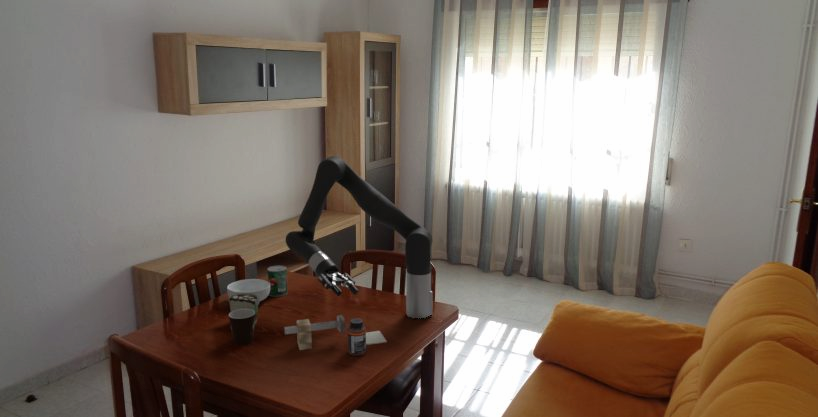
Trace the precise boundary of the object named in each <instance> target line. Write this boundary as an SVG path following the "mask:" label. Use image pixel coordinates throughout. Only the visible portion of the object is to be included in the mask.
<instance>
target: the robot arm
mask: <svg viewBox="0 0 818 417" xmlns="http://www.w3.org/2000/svg"><path fill="white" fill-rule="evenodd" d="M335 183H337V184H339V185H340V186H341V187H343V188H344V189H345V190H346V191H347V192H348V193H349V194H350V195H351V197H352V198H353V199H354V201H355V202H356V204H357V205H358V207H359V208H360V209H361V210H362V211H363V212H364V213H366V214H367V215H368V216H369V217H370V218H371V219H373V220H374V221H376V222H377V223H379V224H381V225H383V226H386V227H388V228H390V229H392V230H393V231H395V233H396V232H397V233H398V234H399V235H400V236H401V237H402V238H403V239H404V240H405V243H404V244H405V247H404V248H405V251H404V253H405V256H404V257H405V267H406V294H405V295H406V306H405V307H406V308H405V310H406V316H407V317H408V318H410V317H411V318H410V319H414V318H418V319H417V320H422V319H421V318H424V319H427V318H429V317H431V316H430V315H432V316H433V310H434V309H433V308H434V307H433V302H434V298H433V296H434V294H433V293H434V292H433V291H432V264H431V247H432V246H433V236H432V234H431V232H430V231H429V230H428V229H426V228H425V227H424V226H422V225H421V224H419V223H417V222H416V221H414V220H413V218H410V217H409V216H408V215H407V214H405V213H404V212H403V211H402V210H401V209H400V208H399V207H397V206H396V205H395V204H394V203H393V202H392V201H390V199H388V198H387V197H386V196H385V194H384V195H383V194H382V193H381V191H378V189H376V188H375V187H374V186H373V185H371V184H370V183H368V182H367V181H366V180H364V179H363V178H362V177H361V176H360V175H359V174H357V173H356V171H355V170H354V169H352V168H351V166H350V165H348V163H347V162H346V161H345V160H344V159H342V158H341V157H339V156H335V155H334V156H329V157H326V158H325V159H323V160H322V161H320V162H319V164H318V167H317V170H316V174H315V178H314V181H313V184H312V187H311V191H310V193H309V196H308V198H307V200H306V202H305V203H304V204H305V205H304V207H303V208H302V211H301V213H300V216H299V218H298V220H297V224H298V226H299V228H301V229H302V230H299V231H298V230H292V231H289V232H288V233H287V234H286V236H285V244H286V246H287V248H288V249H289V250H290V251H291V252H292V253H295V255H297V256H299V257H301V258H302V259H304V261H305V262H306V264H308V265H309V267H310V268H311V269H312V271H313V272H314V273H315V275H317V277H318V278H317V280H318V282H319V283H320V284H321V286H323V288H324V289H325V290H326V291H327V290H330V291H333V293H334V294H335V295H337V297H341V296H342V294H343V291H342V289H341V288H340V287H342V288H347V289H348V290H349V291H350V292H351V293H352V295H353V296H357V294H358V293H359V289H358V288H357V287H356V286H355V284H356V280H354V279H353V277H352V276H350V275H349V274H348V273H347V272H345V273H344V274H342V273H340V271H339V267H338V265H337V264H336V263H335V262H334V261H333V260H332V259H331V258H330V257H329V255H327V254H326V253H325V252H323V250H322V249H321V248H320V247H319V246H318V245H316V244H315V243H313V242H314V239H315V233H316V226H317V225H318V222H319V220H320V218H321V216H322V214H323V211H324V208H325V203H326V199H327V197H328V195H329V193H330V191H331V189H332V188H333V186H335ZM339 286H340V287H339ZM428 316H429V317H428ZM426 317H427V318H426ZM419 318H420V319H419Z"/></svg>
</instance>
